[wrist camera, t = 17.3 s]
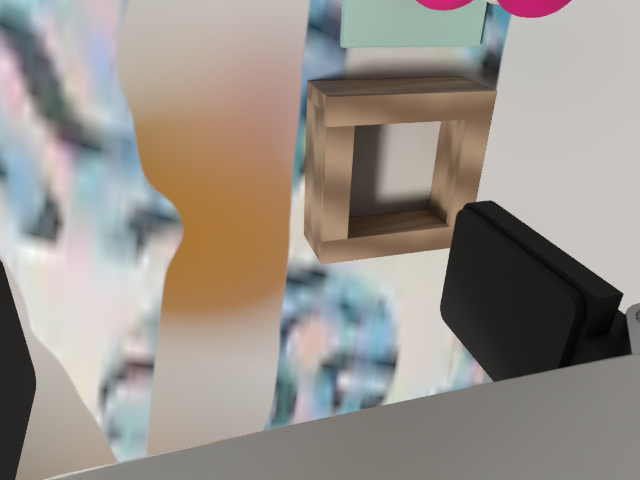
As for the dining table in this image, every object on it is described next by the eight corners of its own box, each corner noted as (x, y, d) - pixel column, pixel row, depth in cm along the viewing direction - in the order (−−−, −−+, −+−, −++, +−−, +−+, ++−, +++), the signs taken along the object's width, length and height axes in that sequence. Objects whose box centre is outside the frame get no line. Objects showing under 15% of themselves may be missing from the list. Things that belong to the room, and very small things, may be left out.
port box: (307, 81, 48) (328, 97, 43) (461, 76, 53) (497, 90, 47) (303, 234, 56) (321, 264, 51) (438, 219, 60) (467, 245, 55)
